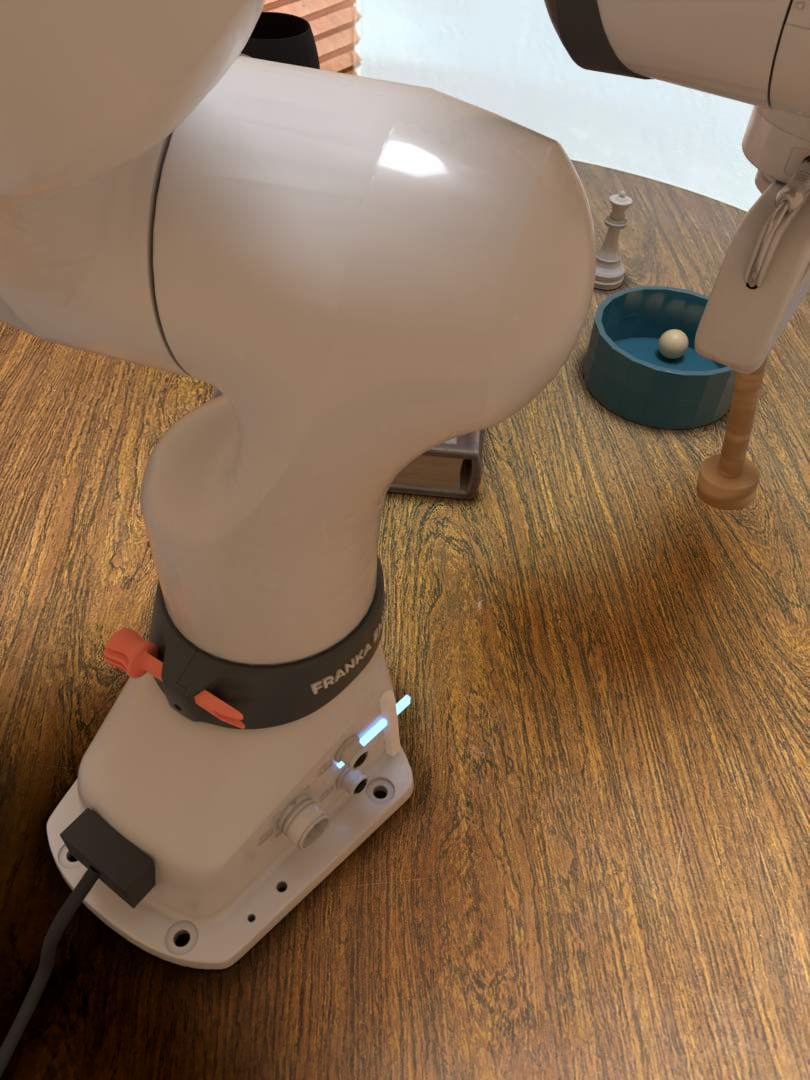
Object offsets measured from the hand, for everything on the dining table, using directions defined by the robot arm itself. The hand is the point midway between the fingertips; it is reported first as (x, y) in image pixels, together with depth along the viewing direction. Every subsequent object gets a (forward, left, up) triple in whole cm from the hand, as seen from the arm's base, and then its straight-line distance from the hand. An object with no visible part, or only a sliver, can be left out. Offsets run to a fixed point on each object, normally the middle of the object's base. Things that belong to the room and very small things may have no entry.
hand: (748, 354), depth 54 cm
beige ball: (+24, +9, -16) cm, 30 cm away
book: (+4, +32, -18) cm, 37 cm away
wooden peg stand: (0, -2, -11) cm, 11 cm away
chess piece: (+34, +21, -18) cm, 44 cm away
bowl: (+20, +9, -18) cm, 28 cm away
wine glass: (+24, +58, -18) cm, 65 cm away
